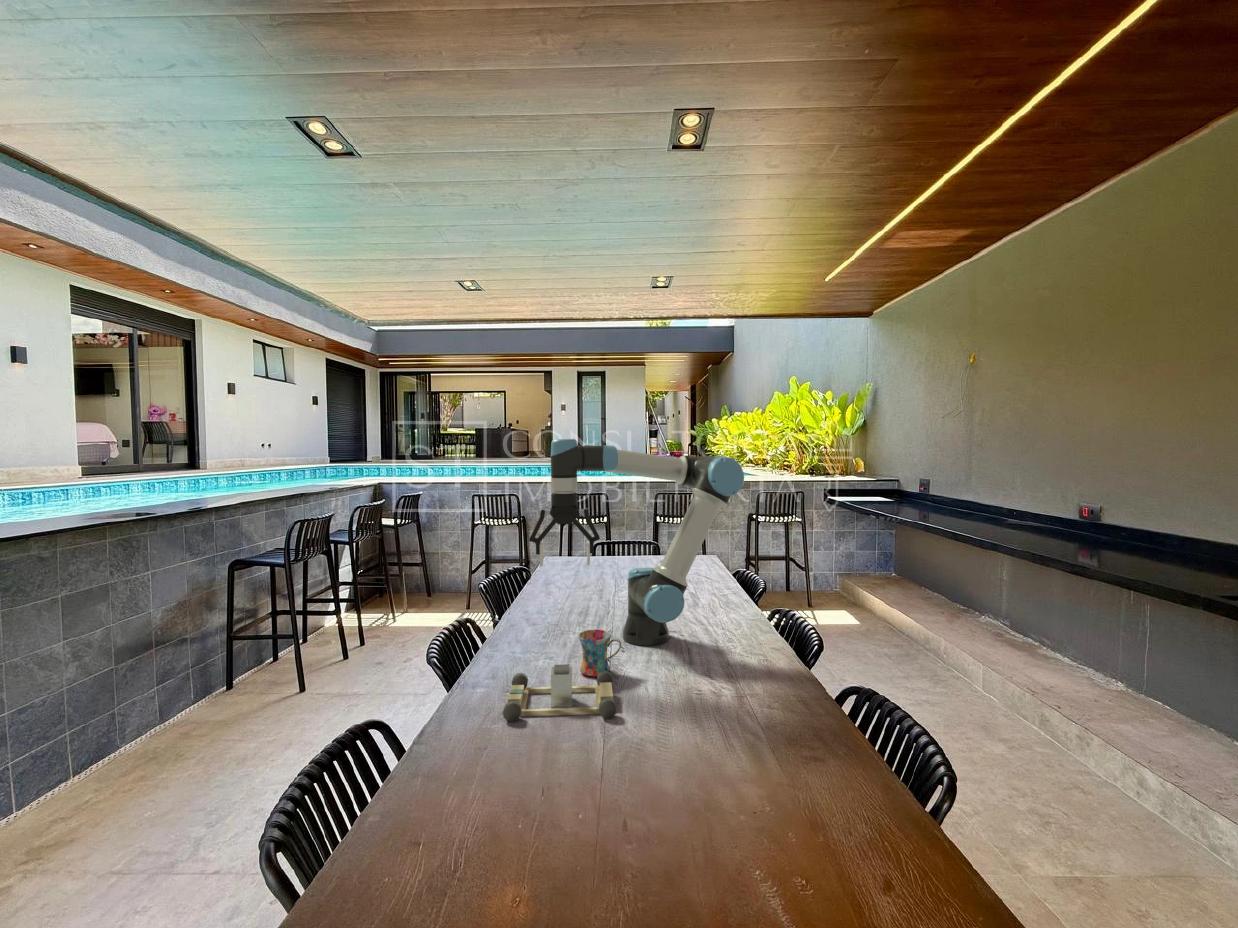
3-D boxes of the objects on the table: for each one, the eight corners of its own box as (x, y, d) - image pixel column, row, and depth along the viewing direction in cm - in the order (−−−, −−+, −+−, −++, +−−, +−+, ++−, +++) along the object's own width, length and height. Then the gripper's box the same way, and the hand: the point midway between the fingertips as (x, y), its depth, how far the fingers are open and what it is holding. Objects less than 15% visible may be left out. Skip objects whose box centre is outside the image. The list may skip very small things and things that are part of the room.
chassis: (612, 685, 149) (612, 670, 149) (616, 718, 131) (616, 701, 131) (512, 688, 147) (512, 673, 147) (502, 722, 129) (502, 704, 129)
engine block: (571, 697, 142) (571, 663, 141) (571, 706, 137) (571, 671, 136) (551, 698, 141) (551, 663, 141) (551, 707, 136) (550, 671, 136)
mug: (576, 679, 153) (576, 640, 152) (579, 665, 162) (579, 629, 162) (621, 679, 153) (621, 640, 152) (621, 665, 162) (621, 629, 162)
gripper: (606, 490, 168) (607, 561, 169) (521, 491, 166) (522, 563, 167) (608, 492, 161) (608, 566, 162) (519, 494, 159) (520, 568, 159)
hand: (565, 565), depth 164 cm, fingers open, 13 cm apart
